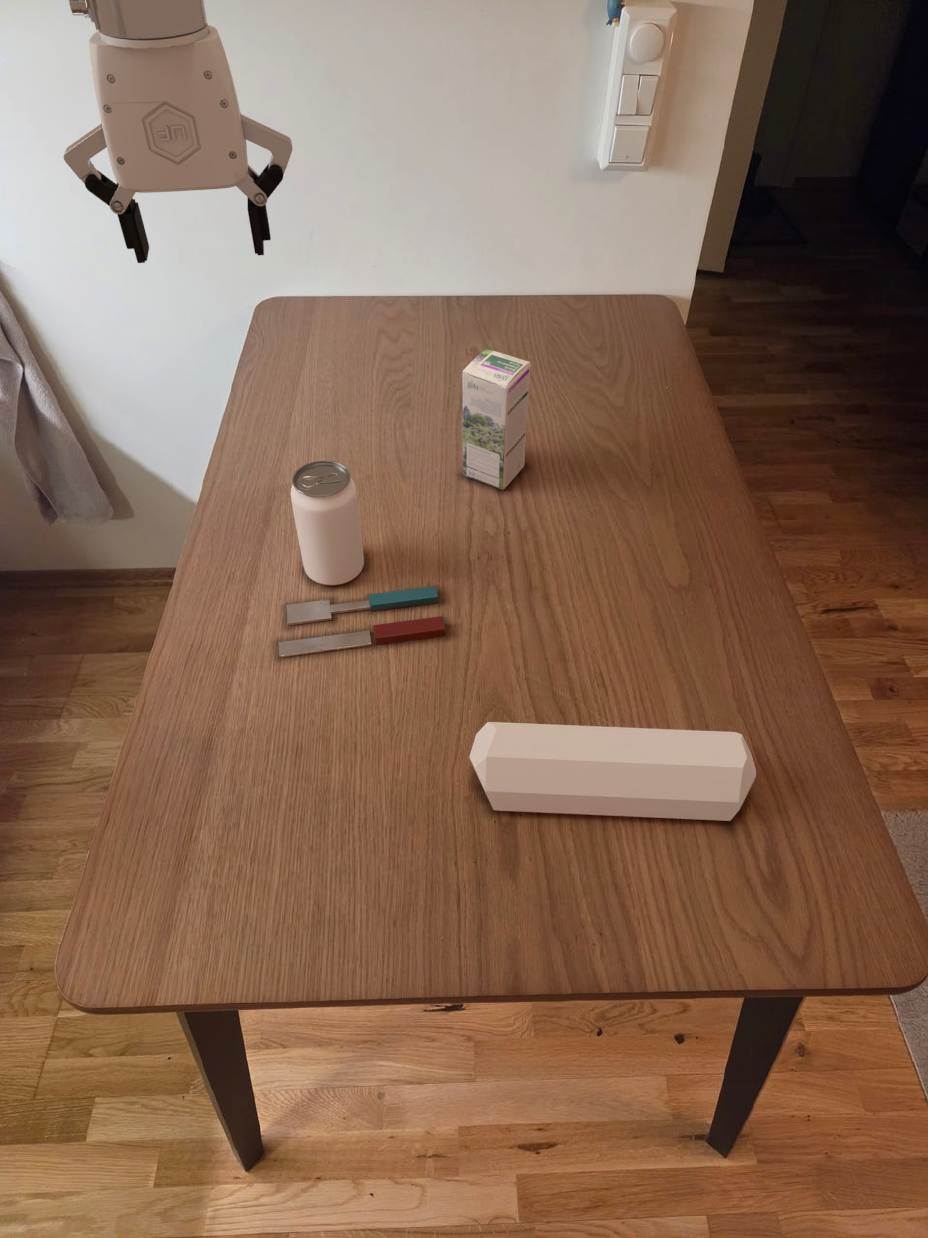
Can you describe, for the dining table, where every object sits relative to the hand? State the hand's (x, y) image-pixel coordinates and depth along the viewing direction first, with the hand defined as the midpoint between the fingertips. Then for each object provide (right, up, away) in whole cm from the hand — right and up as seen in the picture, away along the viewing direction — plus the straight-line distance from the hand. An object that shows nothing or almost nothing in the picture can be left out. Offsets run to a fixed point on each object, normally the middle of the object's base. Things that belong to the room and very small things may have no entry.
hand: (202, 252), depth 73 cm
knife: (+12, -33, +12) cm, 37 cm away
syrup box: (+26, -14, +31) cm, 42 cm away
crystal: (+35, -45, +2) cm, 57 cm away
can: (+8, -26, +20) cm, 33 cm away
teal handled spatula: (+12, -30, +15) cm, 36 cm away
